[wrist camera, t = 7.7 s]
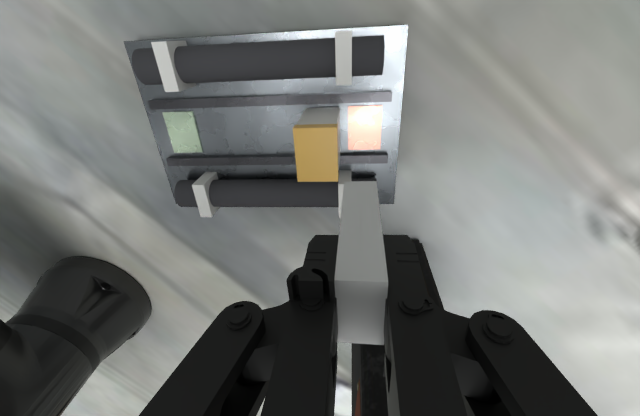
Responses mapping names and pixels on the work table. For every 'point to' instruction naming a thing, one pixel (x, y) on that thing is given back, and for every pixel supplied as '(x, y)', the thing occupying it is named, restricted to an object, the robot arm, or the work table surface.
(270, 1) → the work table surface
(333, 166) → the yellow and grey block
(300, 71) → the pair of dark rods
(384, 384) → the voltmeter
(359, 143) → the panel
